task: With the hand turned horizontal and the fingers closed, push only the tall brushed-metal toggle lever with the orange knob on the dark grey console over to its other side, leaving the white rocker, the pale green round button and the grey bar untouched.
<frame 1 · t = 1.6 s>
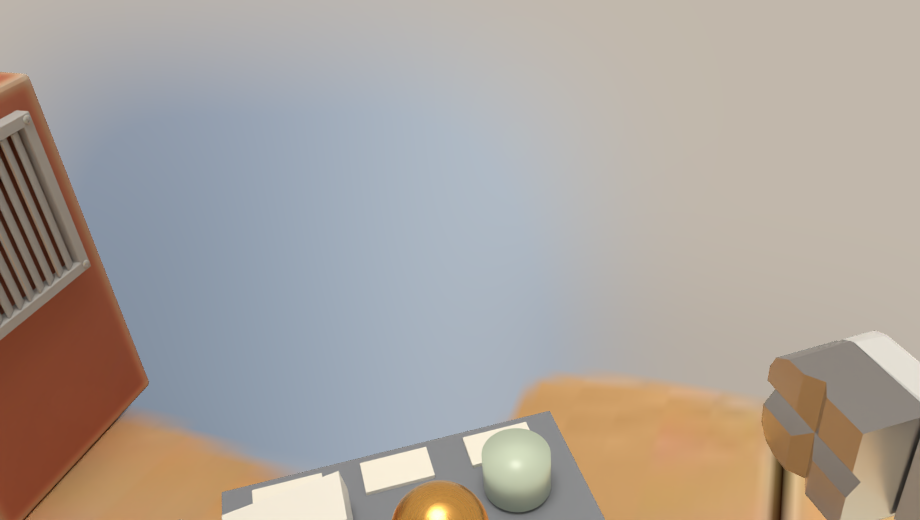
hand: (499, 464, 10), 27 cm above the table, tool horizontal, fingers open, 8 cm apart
button: (516, 469, 35), point 7 cm above the table, slide at 0.0 cm
orange box: (53, 447, 48), on the table
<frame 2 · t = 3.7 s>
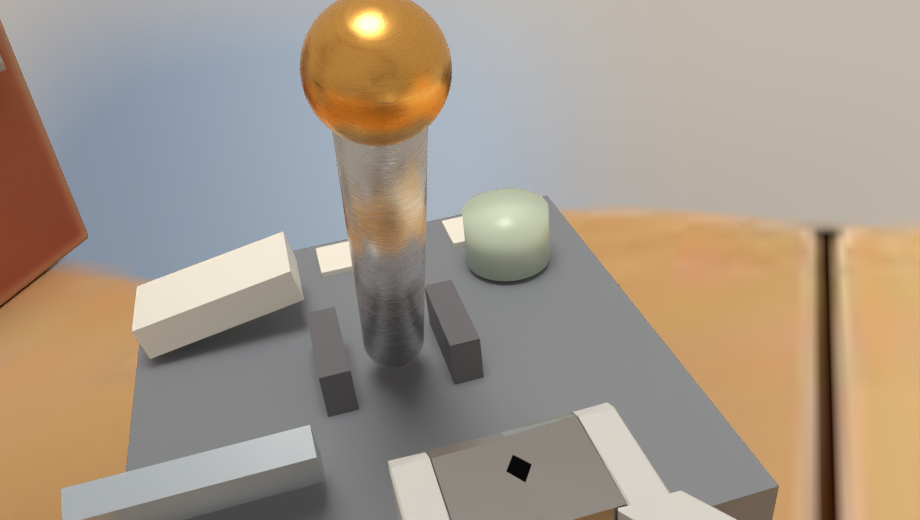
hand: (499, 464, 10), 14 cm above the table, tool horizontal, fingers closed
console: (419, 492, 28), on the table
button: (506, 233, 28), point 7 cm above the table, slide at 0.0 cm
rocker: (218, 293, 26), point 7 cm above the table, hinge at -10.0°
grey bar: (202, 484, 19), point 8 cm above the table, hinge at -28.0°
lever: (382, 167, 16), point 15 cm above the table, hinge at -28.0°
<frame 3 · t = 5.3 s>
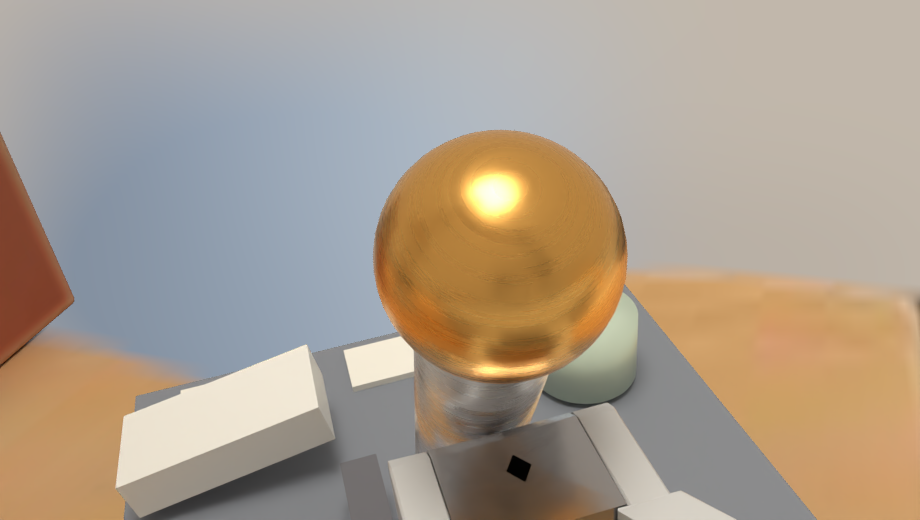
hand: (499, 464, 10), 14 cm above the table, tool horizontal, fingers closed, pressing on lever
button: (583, 341, 23), point 7 cm above the table, slide at 0.0 cm
rocker: (226, 427, 21), point 7 cm above the table, hinge at -10.0°
lever: (480, 361, 11), point 15 cm above the table, hinge at -28.0°, touching gripper
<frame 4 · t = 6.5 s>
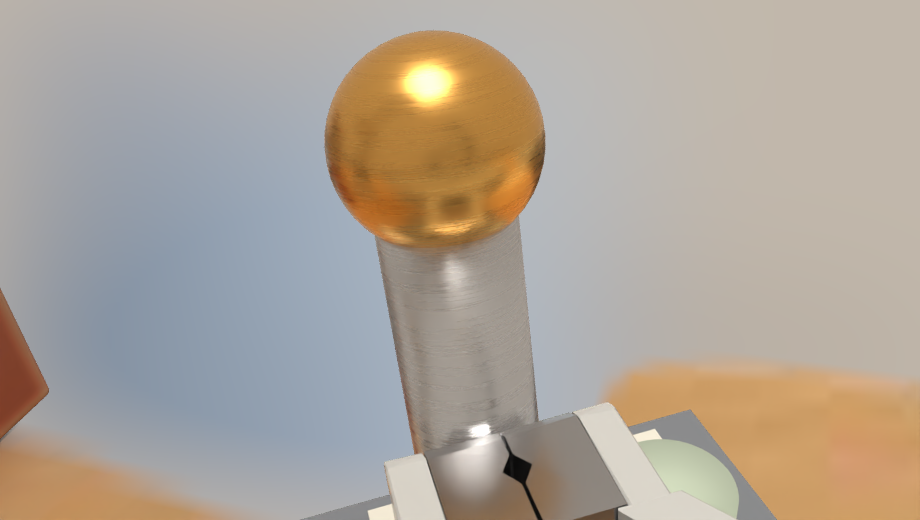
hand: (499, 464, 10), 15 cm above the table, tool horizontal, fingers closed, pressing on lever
button: (666, 517, 19), point 7 cm above the table, slide at 0.0 cm
lever: (463, 346, 11), point 16 cm above the table, hinge at 8.0°, touching gripper
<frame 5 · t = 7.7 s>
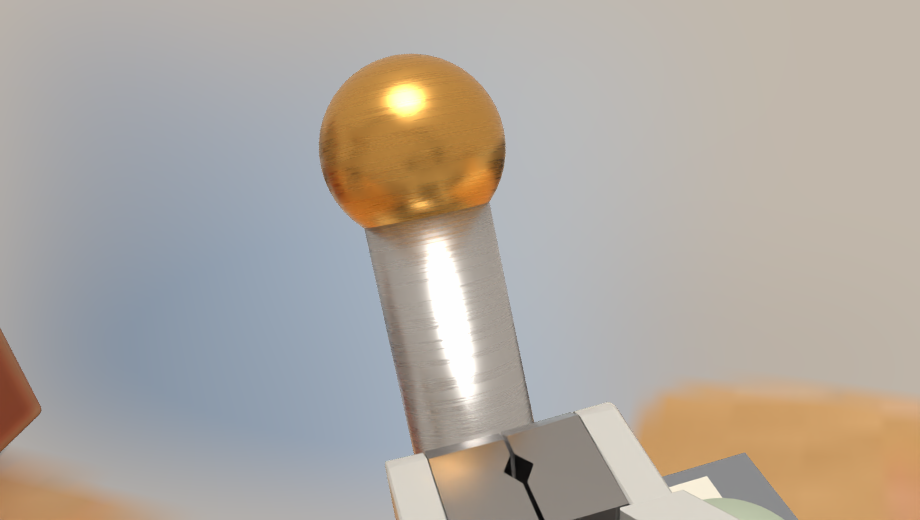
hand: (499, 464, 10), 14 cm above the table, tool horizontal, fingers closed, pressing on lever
lever: (454, 343, 11), point 15 cm above the table, hinge at 28.3°, touching gripper
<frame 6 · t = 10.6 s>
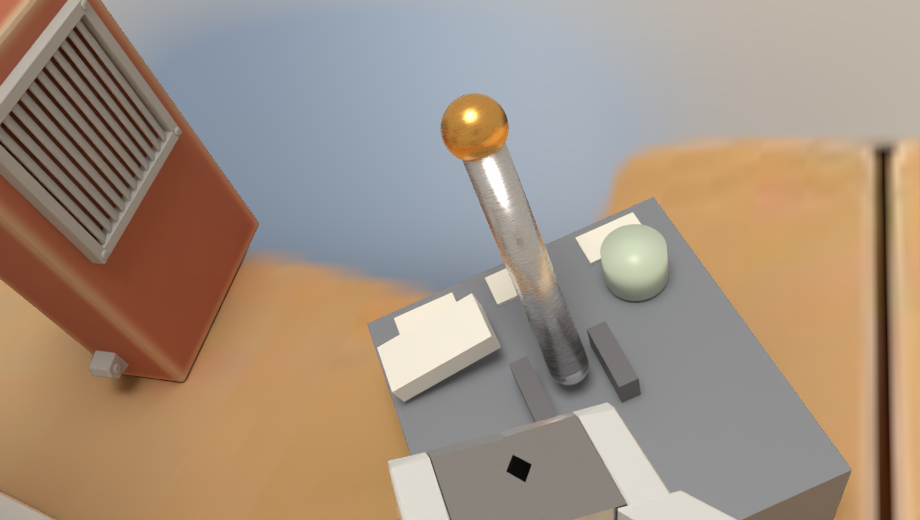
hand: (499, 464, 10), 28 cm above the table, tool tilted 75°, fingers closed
console: (591, 440, 40), on the table
button: (634, 262, 37), point 7 cm above the table, slide at 0.0 cm
orange box: (194, 297, 53), on the table
rocker: (437, 347, 37), point 7 cm above the table, hinge at -10.0°
lever: (500, 193, 32), point 15 cm above the table, hinge at 28.6°
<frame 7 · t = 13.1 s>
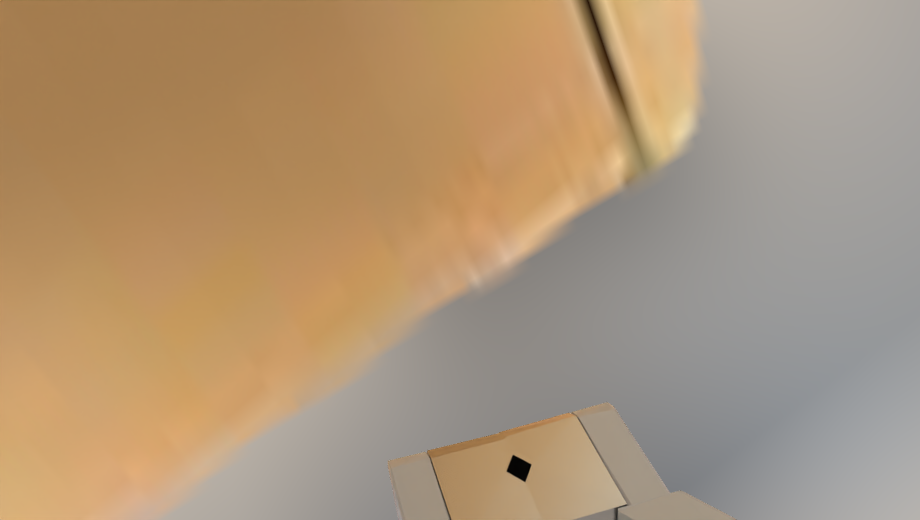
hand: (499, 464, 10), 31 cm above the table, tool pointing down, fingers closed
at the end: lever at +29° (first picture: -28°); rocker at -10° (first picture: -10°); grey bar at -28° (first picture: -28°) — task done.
